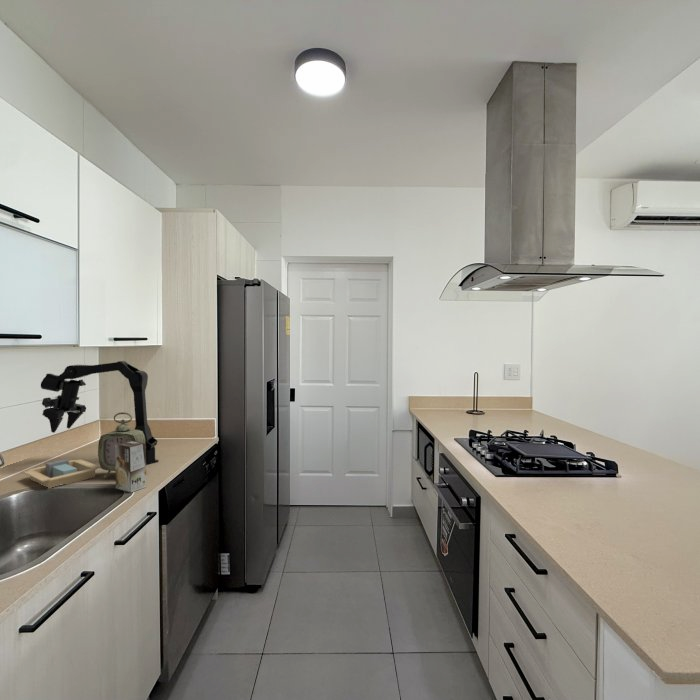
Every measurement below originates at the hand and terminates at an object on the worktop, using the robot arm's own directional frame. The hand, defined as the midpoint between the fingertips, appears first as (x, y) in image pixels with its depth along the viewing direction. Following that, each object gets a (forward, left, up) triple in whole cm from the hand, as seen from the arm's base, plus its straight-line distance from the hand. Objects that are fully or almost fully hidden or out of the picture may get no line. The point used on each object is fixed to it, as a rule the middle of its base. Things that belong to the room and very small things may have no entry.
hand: (60, 430), depth 170 cm
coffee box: (-50, -3, -15) cm, 52 cm away
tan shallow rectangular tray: (-18, +6, -15) cm, 24 cm away
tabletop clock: (-35, -8, -15) cm, 39 cm away
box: (-18, +6, -15) cm, 24 cm away
